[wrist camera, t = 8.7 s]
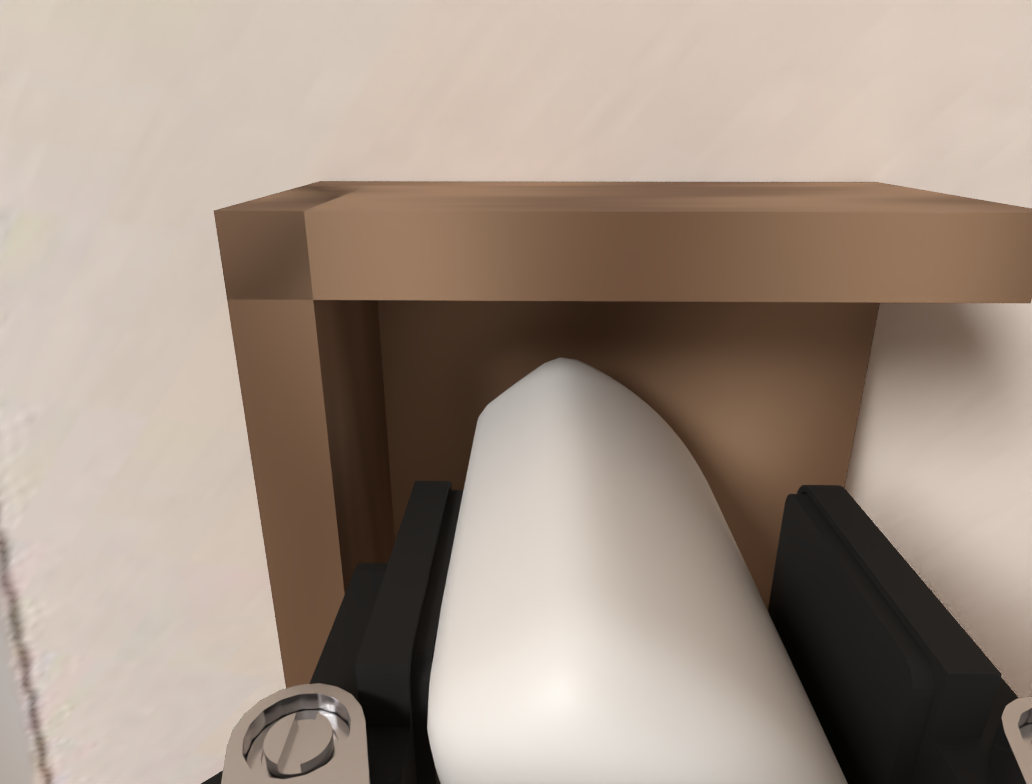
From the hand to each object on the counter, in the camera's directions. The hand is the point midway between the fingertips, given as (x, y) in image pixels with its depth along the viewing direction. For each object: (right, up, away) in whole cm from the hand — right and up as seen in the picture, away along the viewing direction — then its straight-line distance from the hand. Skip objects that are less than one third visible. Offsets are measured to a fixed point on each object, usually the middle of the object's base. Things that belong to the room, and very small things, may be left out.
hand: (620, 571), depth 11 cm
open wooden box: (0, +2, +5) cm, 5 cm away
